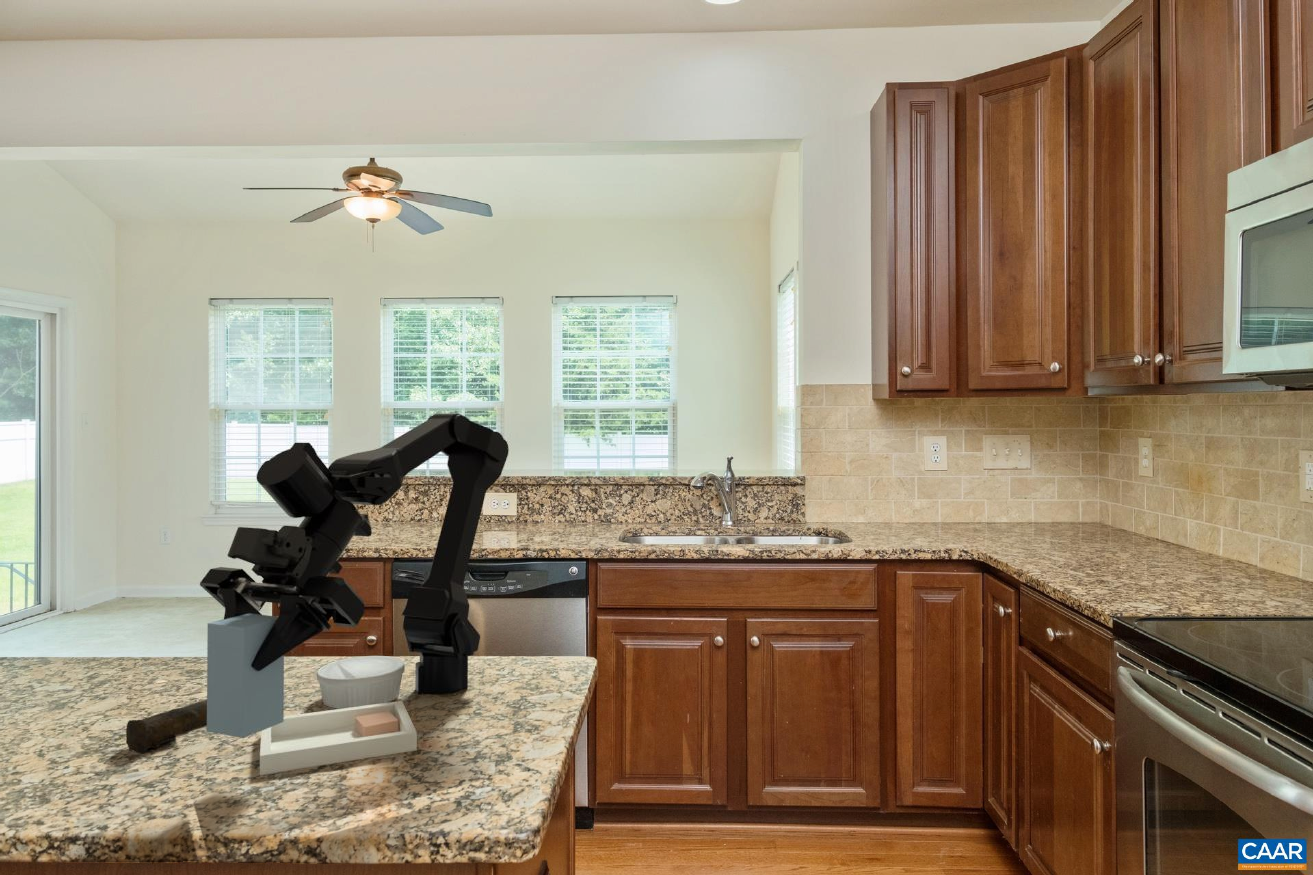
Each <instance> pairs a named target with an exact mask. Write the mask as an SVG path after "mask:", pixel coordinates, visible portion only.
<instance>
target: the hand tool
mask: <svg viewBox="0 0 1313 875" xmlns="http://www.w3.org/2000/svg"><path fill="white" fill-rule="evenodd" d="M205 725H206V726H207V699H205V700H202V701H198V702H195V703H192V704H189V705H186V706H183V707H180V708H178V707H177V708H173V709H170V710H168V711H165V712H160V713H158V714H154V715H151V716H150V717H145V718H142V719H131V720H128V721H127V723H126V729H125V733H126V734H125V736H126V740H125V741H126V744H127V747H128V750H129V751H131V752H135V753H139V754H141V753H142V754H143V753H145V752H146V751H147V749H150V748H155V749H156V748H159V746H160V744H163V743H164V742H165V743H166V742H168V741H170V740H174V739H176V738H177V737H176V735H179V734H183V733H184V732H187V731H190V730H194V729H196V728H200V727H202V726H205Z"/></svg>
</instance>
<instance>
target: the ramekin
mask: <svg viewBox="0 0 1313 875" xmlns="http://www.w3.org/2000/svg"><path fill="white" fill-rule="evenodd" d="M405 666H406V665H405V662H404V661H403V660H402V659H400V658H397V657H393V656H387V655H386V656H385V655H367V656H365V655H364V656H357V657H349V658H344V659H340V660H336V661H333V662H330V663H328V664H325V665H323V666H322V667H320V668H319V669H318V670H317V671H316V680H317V681H318V685H319V689H320V695H321V699H322V703H323V704H324V705H325V706H327V707H328V708H333V709H343V708H351V707H359V706H366V705H374V704H381V703H389V702H393V700H396V699H397V698H398V697H399V694H400V691H401V685H402V681H403V680H402V678H403V673H404V672H405V669H406V668H405Z"/></svg>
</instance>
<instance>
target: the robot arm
mask: <svg viewBox="0 0 1313 875" xmlns="http://www.w3.org/2000/svg"><path fill="white" fill-rule="evenodd" d="M509 451H510V450H509V444H508V442H507V440H506V439H505V438H504V436H503V435H502V433H501V432H499V431H495V430H494V429H491V428H489V427H486V426H485V425H481V424H479V423H477V422H474V421H472V420H470V418H468V417H467V416H465V415H463V414H460V413H458V412H457V413H456V412H455V413H450V412H449V413H443V412H442V413H434V414H433V415H430V416H429V417H428V418H427V420H425V421H424V422H422V423H420V424H419V425H417V426H415V427H413V428H412V429H410V430H408V431H407V432H405V433H403V434H402V435H400V436H398V437H396V438H394V439H393V440H391V441H390V442H388V443H386V444H384V445H382V446H380V447H379V448H375V449H372V450H366V451H360V452H354V453H352V454H349V455H346V456H342V457H339V458H336V459H335V460H334V461H332V463H331V464H330V465H329V467H328V466H327V465H326V464H325V463H324V461H323V460H322V458H320V456H319V455H318V453H317V451H316V449H315V448H314V446H313V445H312V444H311V443H310V442H294V443H293V444H292V446H291V447H290V448H288V449H285V450H283V451H281V452H279V453H277V454H276V455H274V456H272V457H271V458H270V459H269V460H265V461H264V462H263V463H262V464H261V466H260V467H259V469H258V470H257V473H256V481H257V483H258V484H259V485H260V486H261V487H262V488H263V490H265V491H266V493H268V495H269V496H270V497H271V498H272V499H273V500H274V502H276V503H275V504H277V505H278V506H279V507H280V509H282V510H283V512H284V513H285V514H286V515H287V516H288V517H290V518H293V519H297V518H303V520H302V521H301V523H299V525H298V526H297V525H296V526H295V525H283V526H281V527H280V529H279V530H275V529H266V528H263V527H262V528H261V527H260V528H259V527H248V526H238V527H237V529H236V532H235V534H234V537H233V540H232V542H231V545H230V546H229V550H228V553H227V555H226V556H227V557H228V558H231V559H232V560H236V559H238V560H240V561H241V560H242V561H243V562H247V563H250V564H252V565H253V567H252V568H251V570H252V572H253V573H254V574H255V575H256V576H260V577H261V578H262V580H261V582H257V581H255V579H253V578H252V577H251V576H250V575H249V574H248V573H247V572H246V571H245V570H244V569H243V568H235V567H222V566H220V567H214V568H210V569H209V570H208V571H207V573H206V574H205V576H204V577H203V578H202V580H200V582H199V586H200V587H201V588H202V589H203V590H205V591H206V592H207V593H208V594H209V595H210V596H212V598H213V599H214V600H215V601H217V602H218V603H219V604H220V605H221V606H222V607H223V608H224V616H223V620H224V619H228V618H232V617H236V616H240V615H244V614H249V613H250V614H259V615H263V614H262V613H261V612H260V611H261V610H262V608H263V607H264V605H265V604H266V603H273V604H279V614H278V616H277V617H278V619H277V620H276V622H275V624H274V625H273V627H272V629H271V630H270V632H269V634H268V635H267V637H266V639H265V640H264V642H263V644H262V645H261V647H260V649H259V650H258V652H257V654H256V656H255V658H254V660H253V662H252V665H251V666H252V668H254V669H255V670H256V671H261V670H262V669H264V668H265V667H267V666H268V665H270V664H271V663H273V662H274V661H276V660H277V659H279V658H280V657H281V656H283V655H284V656H285V655H286V654H287V653H289V652H290V651H292V650H294V649H295V648H296V647H298V646H300V645H302V644H303V643H305V642H307V641H308V640H310V639H312V638H314V637H315V636H317V635H319V634H320V633H322V632H328V631H330V629H332V625H331V624H330V623H329V622H330V620H331V618H332V620H333V624H334V625H335V626H338V627H344V628H345V627H347V628H352V629H353V628H355V629H356V628H357V626H358V625H359V623H360V621H361V619H362V617H363V616H364V614H365V601H364V599H362V597H361V596H360V595H359V594H358V593H357V592H356V591H355V589H353V587H352V586H351V585H350V584H349V583H348V582H347V580H346V579H344V577H339V576H329V575H331V574H332V575H339V574H340V572H341V570H342V569H343V566H342V565H341V563H340V562H339V561H338V560H339V559H340V558H341V556H342V554H343V553H344V552H345V550H346V548H347V547H348V545H349V544H350V542H351V540H352V538H353V537H368V538H369V537H371V536H372V534H373V533H372V526H371V524H370V522H369V515H368V514H369V513H368V514H367V513H361V512H360V511H359V510H358V508H357V507H356V506H355V505H363V506H364V505H365V506H381V505H383V504H386V502H388V501H389V500H390V499H392V497H393V496H394V495H395V494H396V493H397V492H399V490H400V489H402V488H401V487H402V486H403V483H404V477H406V476H407V475H408V474H409V473H411V472H412V471H414V470H415V469H416V468H418V467H420V466H421V465H423V464H424V463H425V462H427V461H429V460H430V459H431V458H434V456H436V455H438V454H439V453H441V454H444V455H445V456H446V457H448V458H447V468H448V471H449V474H450V478H451V481H452V487H451V491H450V493H449V494H450V495H449V498H448V501H447V502H448V503H447V506H446V509H445V513H444V516H443V522H442V525H441V528H440V533H439V537H438V540H437V545H436V548H435V551H434V556H433V559H432V564H431V567H430V571H429V574H428V578H427V579H426V580H425V581H424V582H423V583H422V584H421V585H420V586H411V588H410V589H409V591H408V592H407V593H408V595H407V601H406V604H405V606H404V607H405V608H404V610H403V611H402V614H401V616H403V620H402V630H403V631H404V634H405V639H406V642H407V643H406V644H407V647H408V651H409V652H410V653H419V661H417V662H416V663H415V671H414V673H415V677H414V678H415V682H414V683H415V685H414V686H415V687H414V689H415V691H416V693H417V695H432V696H433V695H434V696H435V695H436V696H441V695H442V696H443V695H445V696H446V695H450V694H455V693H459V692H461V691H464V690H468V688H469V672H468V671H469V657H470V656H474V654H475V653H476V652H477V651H478V650H479V646H480V640H481V634H480V633H479V631H477V630H476V628H475V627H474V626H473V624H472V623H471V622H470V621H469V614H470V613H469V612H470V603H469V600H468V597H467V592H466V590H465V587H464V585H465V584H464V583H465V579H466V574H467V572H468V571H467V570H468V567H469V563H470V558H471V555H472V550H473V546H474V543H475V538H476V534H477V531H478V530H477V529H478V526H479V522H480V518H481V514H482V509H483V506H484V502H485V498H486V493H487V491H488V490H489V489H490V488H491V487H492V486H493V485H494V483H496V481H497V480H498V479H499V478H501V475H502V472H503V470H504V468H505V465H506V462H507V459H508V456H509Z"/></svg>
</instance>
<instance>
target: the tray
mask: <svg viewBox="0 0 1313 875" xmlns="http://www.w3.org/2000/svg"><path fill="white" fill-rule="evenodd" d="M385 711H389V712H390V713H391V714H392V715H393V716H394V717H395V718H396V719H398V732H395V733H388V734H381V735H374V736H368V737H361V736H360V735H359V734H358V732H357V731H356V730H355V717H359V716H364V715H370V714H375V713H380V712H385ZM260 732H261V734H260V750H259V776H264V775H270V774H275V773H277V774H278V773H283V772H289V771H296V770H302V769H309V768H313V767H321V766H326V765H334V764H338V763H340V764H341V763H345V762H352V761H357V760H364V759H371V758H376V757H377V758H378V757H383V756H391V755H395V754H402V753H408V752H414V751H418V750H417V748H418V745H417V743H418V739H417V738H418V736H417V735H418V734H417V733H418V732H417V729H416V728H415V725H414V724H413V721H412V719H411V717H410V715H409V713H408V711H407V708H406V706H405V704H404V702H403V701H402V700H398V701H390V702H388V703H381V704H374V705H366V706H359V707H351V708H343V709H339V708H335V709H331V710H322V711H314V712H308V713H307V712H306V713H299V714H291V715H285V716H284V722H282V723H279V724H277V725H274V726H272V727H270V728H267V729H265V730H262V731H260Z"/></svg>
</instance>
